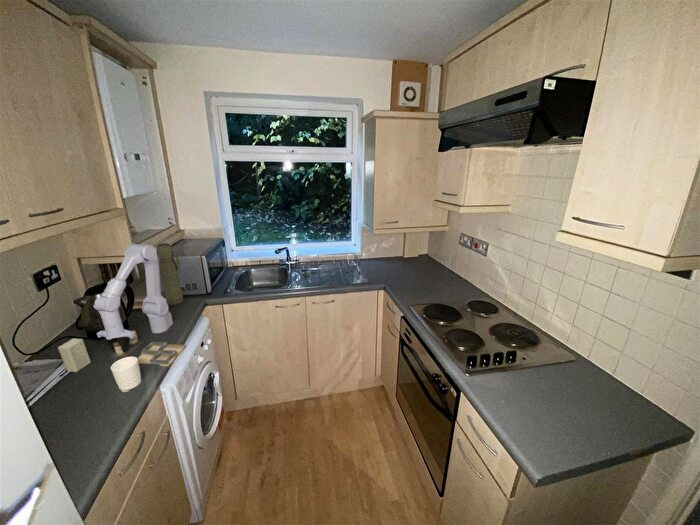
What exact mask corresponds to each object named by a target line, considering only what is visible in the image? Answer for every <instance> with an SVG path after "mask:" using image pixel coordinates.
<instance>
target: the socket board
mask: <svg viewBox="0 0 700 525" xmlns="http://www.w3.org/2000/svg"><path fill="white" fill-rule="evenodd" d="M186 348H187V345H186V344H172V343H170V344H168V342H167V341H166V342H165V341H150V343H149V344H148V345H147V346H145V347H144V348H143V349H142V350H141V351H140V353H141V355H139V356H138V357H136V358H137V359H138V364H143V365H144V364H149V365H150V364H151V365H158V367H170V365H171V364H172V363H173V362H174V361H175V360H176V359H177V358H178V357H179V355H181V354H182V353H183V351H184V350H185V349H186Z"/></svg>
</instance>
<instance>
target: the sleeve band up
mask: <svg viewBox="0 0 700 525" xmlns="http://www.w3.org/2000/svg"><path fill="white" fill-rule="evenodd" d="M113 345H114V348H115V351H116V352H115V353H116V355H117V356H118V357H117V358H121V357H120V356H124V355H126V354H127V352H126V353H123V351H122V349H121V346H120V345H119V344H118V343H117V341H115V342H113Z"/></svg>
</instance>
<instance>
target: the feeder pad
mask: <svg viewBox="0 0 700 525" xmlns="http://www.w3.org/2000/svg"><path fill="white" fill-rule="evenodd" d="M138 341H139V344H138V345H136V346H132V347H130V346H129V350H128V351H127V354H126V355H124V356H120V357H118V356H117V355H116V352H114V354H113V355H112V356H111V357H112V358H125V357H129V356H128V355H130V354H131V353H133V352H134V350H136V349H137V348H139V346H140V345H142V344H143V343H144V341H140V340H138Z"/></svg>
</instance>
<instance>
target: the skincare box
mask: <svg viewBox="0 0 700 525" xmlns="http://www.w3.org/2000/svg"><path fill="white" fill-rule="evenodd" d="M57 348H58V349H57V350H58V352H59V354H60V357H61V359H62V362H63V365H64V366H65V370H66V371H67V372H73V373H77V372H78V371H80V370H82V369H83V368H84V367H86V366H87V365H89V364H91V361H92V360H91V359H90V356H89V354H88V351H87V348H86V345H85V342H84V339H83V338H74V337H73V338H72V339H70V340H68V341H67V342H64V343H62V345H60V346H57Z"/></svg>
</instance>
